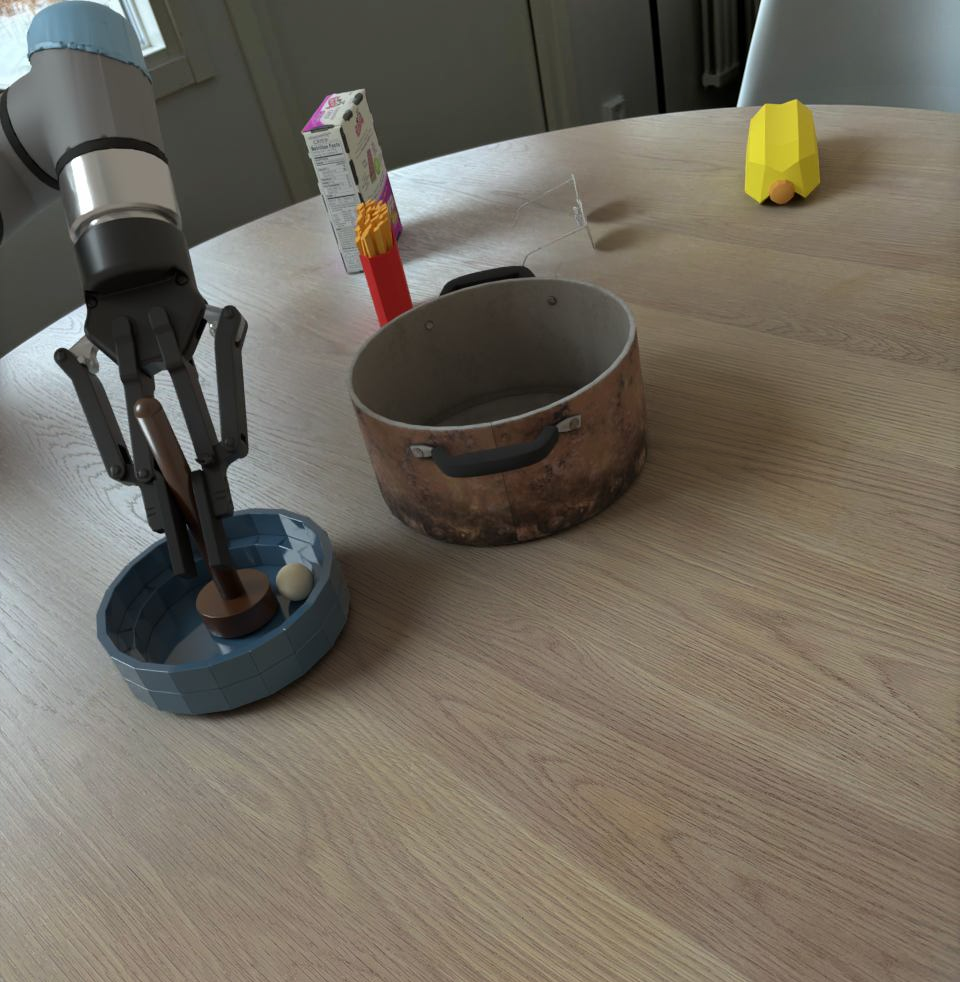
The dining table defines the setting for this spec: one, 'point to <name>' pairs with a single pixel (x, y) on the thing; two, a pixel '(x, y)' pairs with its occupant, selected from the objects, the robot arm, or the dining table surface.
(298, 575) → the beige ball
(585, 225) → the eyeglasses frame
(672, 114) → the dining table surface
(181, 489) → the brown plunger
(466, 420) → the cooking pot
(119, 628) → the bowl
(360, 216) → the french fries
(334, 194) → the candy bar box
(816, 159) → the yellow faceted bell
